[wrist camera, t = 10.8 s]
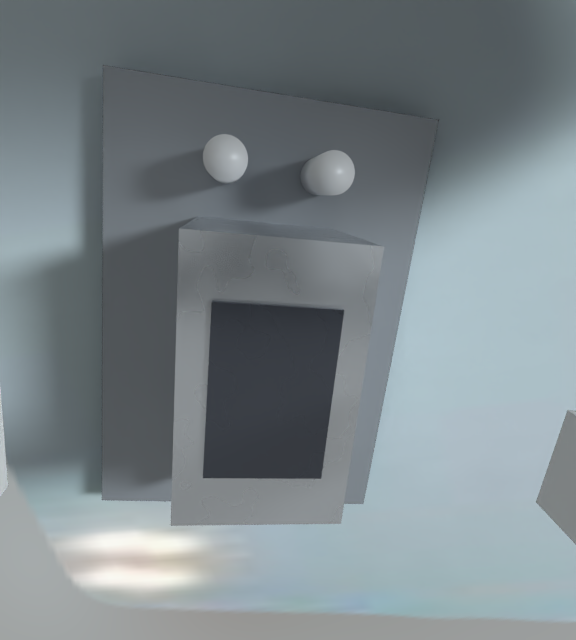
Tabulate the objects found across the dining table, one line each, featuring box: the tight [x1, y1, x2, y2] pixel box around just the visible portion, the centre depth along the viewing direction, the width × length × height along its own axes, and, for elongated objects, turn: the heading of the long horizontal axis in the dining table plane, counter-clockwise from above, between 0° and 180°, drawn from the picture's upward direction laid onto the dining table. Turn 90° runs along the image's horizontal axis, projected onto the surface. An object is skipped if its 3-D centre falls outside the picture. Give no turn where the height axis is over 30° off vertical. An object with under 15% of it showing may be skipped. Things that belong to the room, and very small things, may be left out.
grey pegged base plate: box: [102, 65, 439, 504], centre depth 19 cm, size 20×14×4 cm
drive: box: [171, 216, 384, 526], centre depth 17 cm, size 10×6×7 cm, turn 174°
